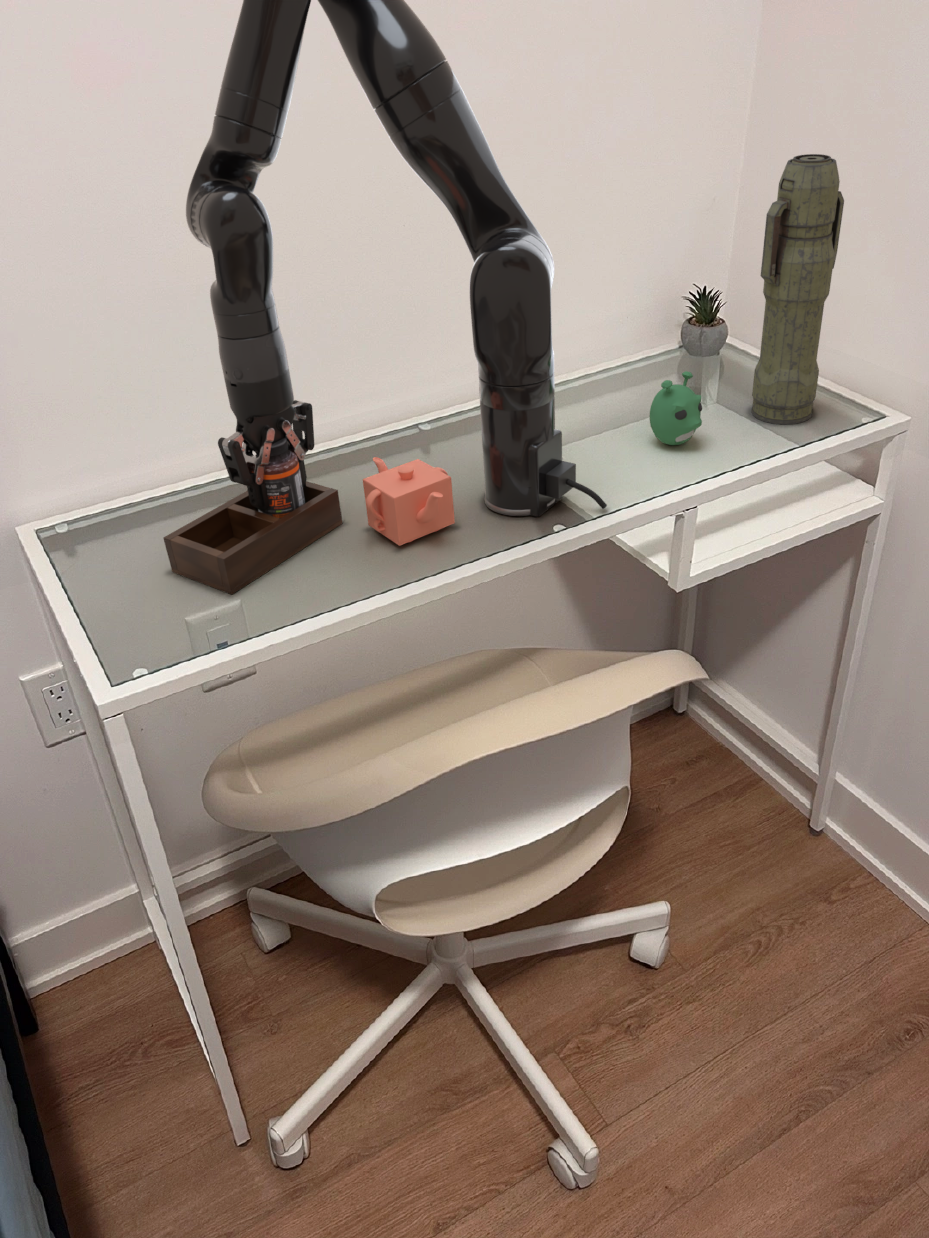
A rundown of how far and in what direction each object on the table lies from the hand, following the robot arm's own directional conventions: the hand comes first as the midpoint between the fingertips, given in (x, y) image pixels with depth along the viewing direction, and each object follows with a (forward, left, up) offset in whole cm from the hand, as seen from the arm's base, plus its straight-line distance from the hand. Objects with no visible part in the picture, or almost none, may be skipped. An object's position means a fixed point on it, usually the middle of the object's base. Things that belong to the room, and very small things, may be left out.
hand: (280, 497), depth 126 cm
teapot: (-14, -8, -5) cm, 17 cm away
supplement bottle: (0, 0, -4) cm, 4 cm away
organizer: (0, +5, -5) cm, 7 cm away
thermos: (-41, -63, -5) cm, 76 cm away
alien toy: (-32, -46, -5) cm, 56 cm away
